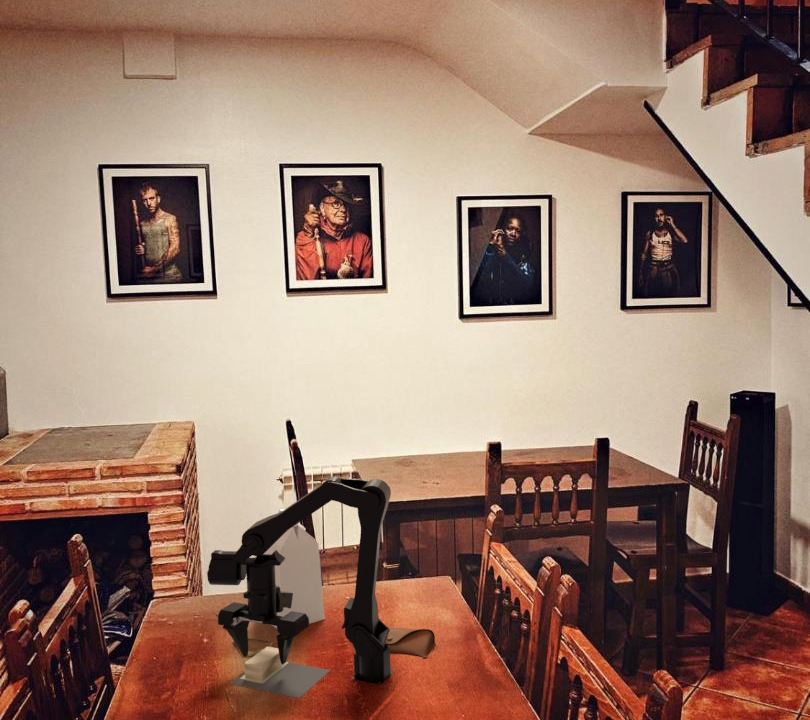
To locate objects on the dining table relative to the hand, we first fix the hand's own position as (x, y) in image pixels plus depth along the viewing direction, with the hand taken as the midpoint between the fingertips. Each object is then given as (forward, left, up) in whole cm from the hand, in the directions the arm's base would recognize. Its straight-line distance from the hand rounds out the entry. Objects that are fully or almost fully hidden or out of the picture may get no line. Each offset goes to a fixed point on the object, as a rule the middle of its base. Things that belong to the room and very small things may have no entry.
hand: (264, 659), depth 156 cm
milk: (+11, -26, -3) cm, 29 cm away
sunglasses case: (-19, -20, -4) cm, 28 cm away
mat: (-4, +1, -3) cm, 5 cm away
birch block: (0, 0, -2) cm, 2 cm away
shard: (+10, -7, -4) cm, 13 cm away
